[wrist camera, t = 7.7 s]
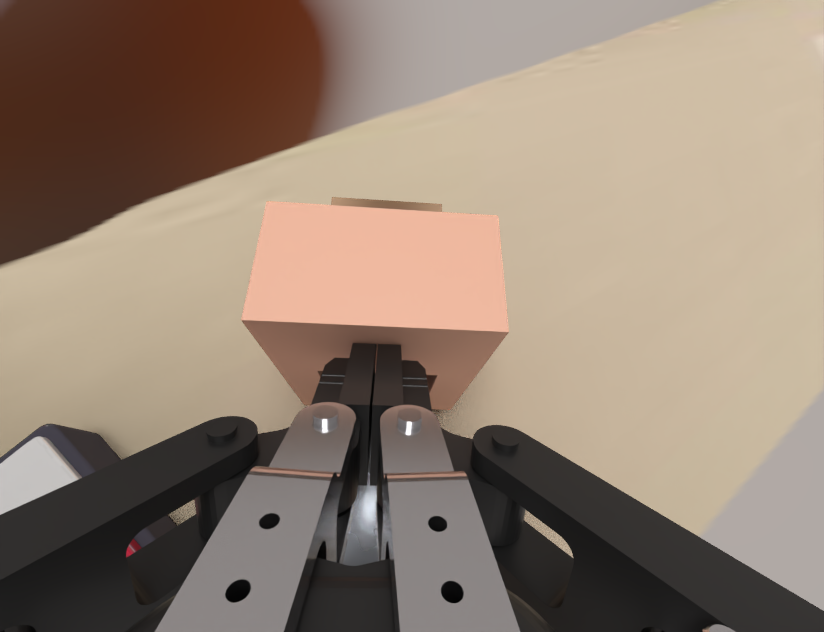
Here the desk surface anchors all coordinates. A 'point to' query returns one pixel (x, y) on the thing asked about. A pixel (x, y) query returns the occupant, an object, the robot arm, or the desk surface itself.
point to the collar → (377, 291)
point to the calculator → (61, 471)
